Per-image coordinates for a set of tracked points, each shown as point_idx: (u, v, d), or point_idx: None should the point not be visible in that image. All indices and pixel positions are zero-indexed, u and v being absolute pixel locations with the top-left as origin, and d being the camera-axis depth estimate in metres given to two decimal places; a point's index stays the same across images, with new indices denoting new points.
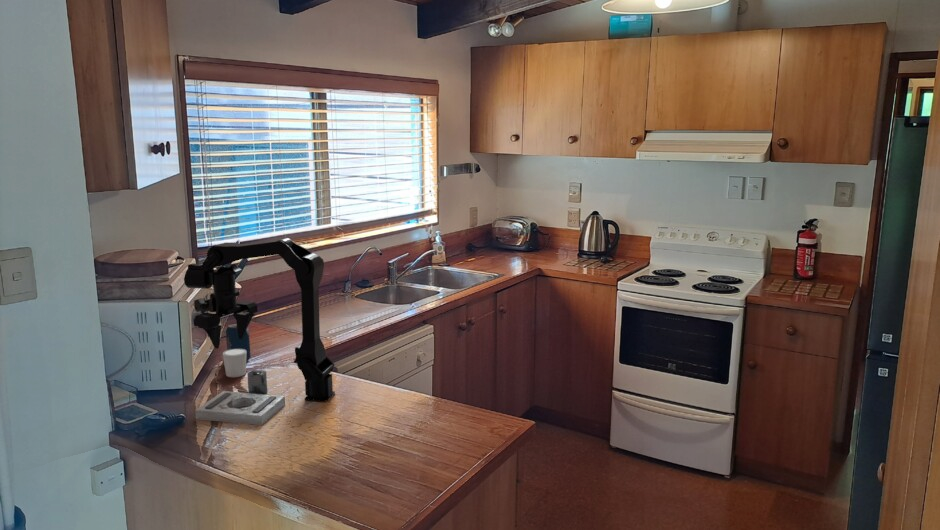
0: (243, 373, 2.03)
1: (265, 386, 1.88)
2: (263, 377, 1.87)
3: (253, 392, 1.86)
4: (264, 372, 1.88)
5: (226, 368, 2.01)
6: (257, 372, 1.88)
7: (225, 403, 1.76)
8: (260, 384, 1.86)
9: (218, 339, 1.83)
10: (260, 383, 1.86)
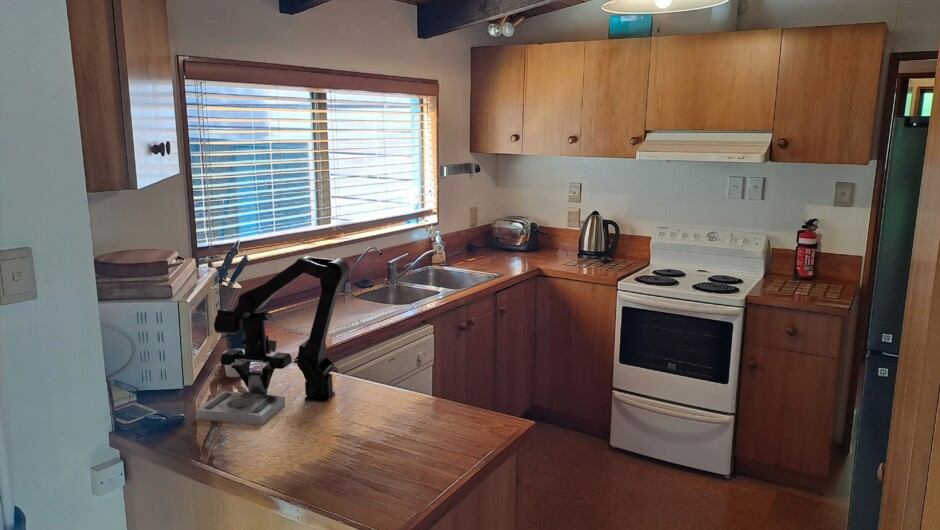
0: None
1: None
2: None
3: (253, 392, 1.86)
4: None
5: (226, 368, 2.01)
6: (257, 372, 1.88)
7: (225, 403, 1.76)
8: (260, 384, 1.86)
9: (243, 379, 1.87)
10: (260, 383, 1.86)
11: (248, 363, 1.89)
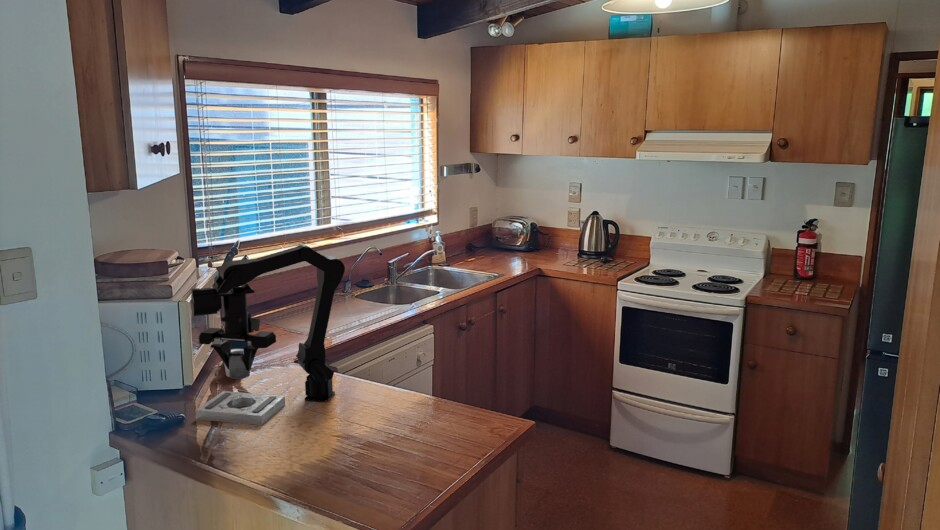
0: None
1: None
2: None
3: (234, 374, 1.72)
4: None
5: (226, 368, 2.01)
6: (239, 352, 1.74)
7: (225, 403, 1.76)
8: (242, 365, 1.72)
9: (223, 360, 1.73)
10: (241, 364, 1.72)
11: (229, 343, 1.75)
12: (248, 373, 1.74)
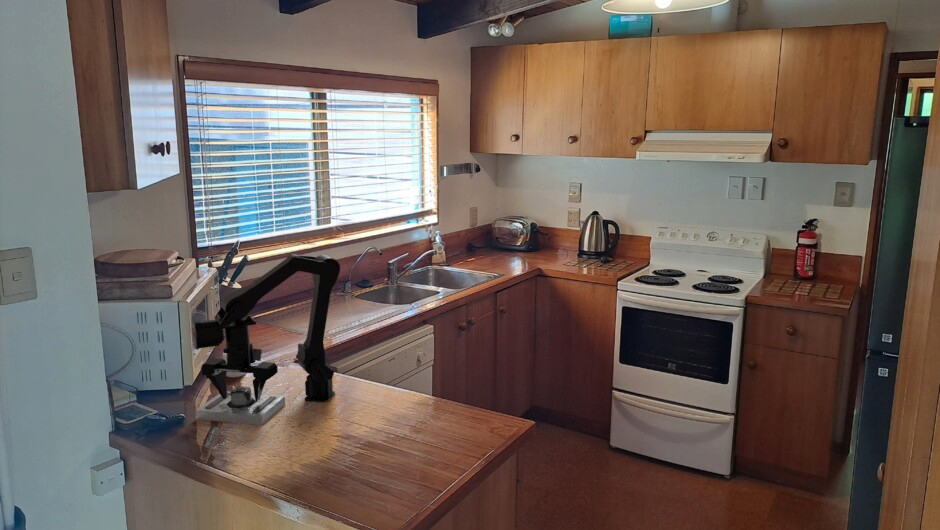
0: (243, 373, 2.03)
1: (249, 404, 1.75)
2: (247, 395, 1.74)
3: None
4: (248, 389, 1.76)
5: None
6: (241, 389, 1.76)
7: (225, 403, 1.76)
8: (244, 402, 1.74)
9: (218, 390, 1.75)
10: (244, 401, 1.74)
11: (224, 373, 1.77)
12: None
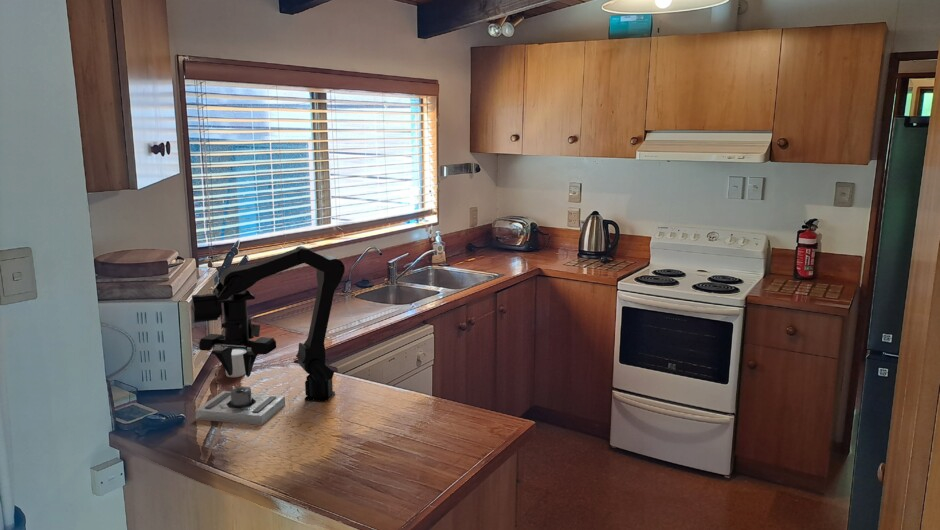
0: (243, 373, 2.03)
1: (249, 404, 1.75)
2: (247, 395, 1.74)
3: None
4: (248, 389, 1.76)
5: None
6: (241, 389, 1.76)
7: (225, 403, 1.76)
8: (244, 402, 1.74)
9: (224, 366, 1.73)
10: (244, 401, 1.74)
11: (230, 349, 1.75)
12: None
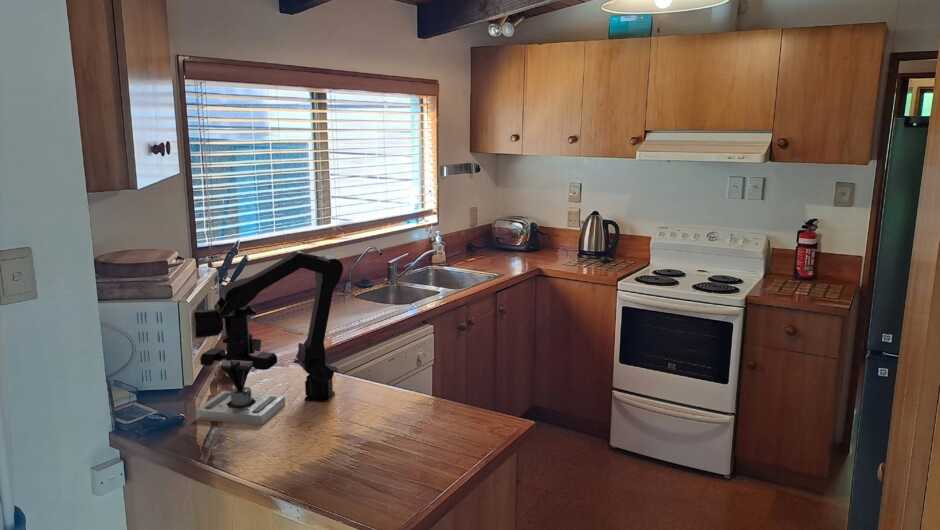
0: None
1: (249, 404, 1.75)
2: (247, 395, 1.74)
3: None
4: (248, 389, 1.76)
5: None
6: None
7: (225, 403, 1.76)
8: (244, 402, 1.74)
9: (234, 381, 1.73)
10: (244, 401, 1.74)
11: (239, 364, 1.76)
12: None
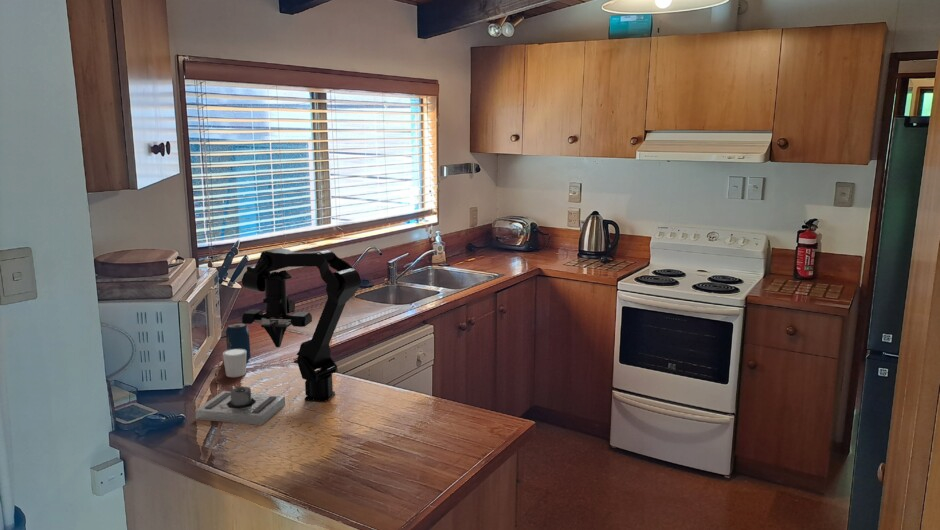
0: (243, 373, 2.03)
1: (249, 404, 1.75)
2: (247, 395, 1.74)
3: None
4: (248, 389, 1.76)
5: (226, 368, 2.01)
6: (241, 389, 1.76)
7: (225, 403, 1.76)
8: (244, 402, 1.74)
9: (272, 338, 1.90)
10: (244, 401, 1.74)
11: (277, 323, 1.92)
12: None
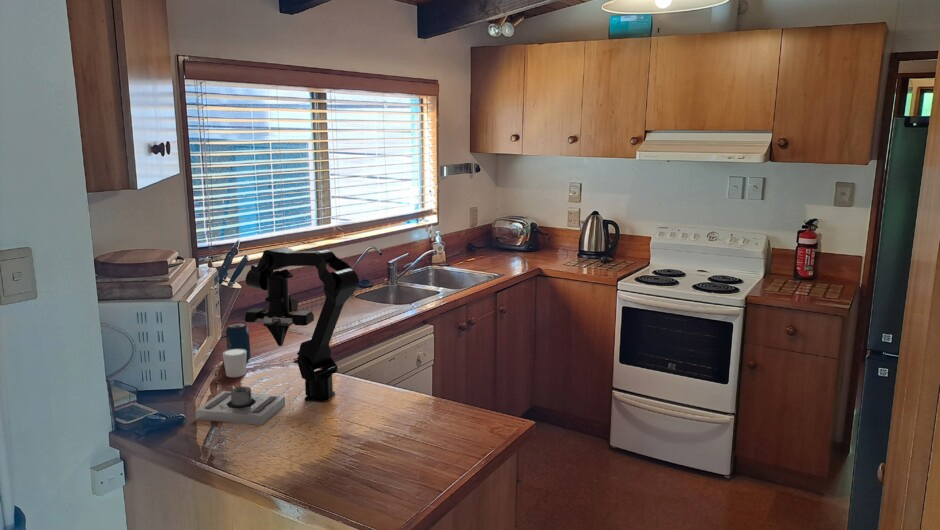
0: (243, 373, 2.03)
1: (250, 404, 1.75)
2: (248, 395, 1.74)
3: None
4: (249, 389, 1.76)
5: (226, 368, 2.01)
6: (241, 389, 1.76)
7: (225, 403, 1.76)
8: (245, 402, 1.74)
9: (274, 337, 1.91)
10: (244, 401, 1.74)
11: (279, 322, 1.93)
12: None
